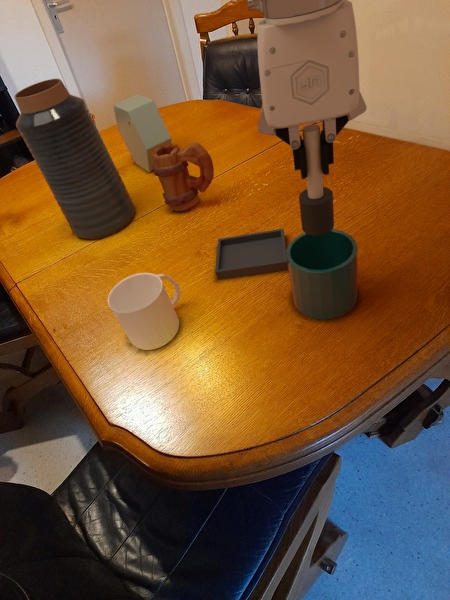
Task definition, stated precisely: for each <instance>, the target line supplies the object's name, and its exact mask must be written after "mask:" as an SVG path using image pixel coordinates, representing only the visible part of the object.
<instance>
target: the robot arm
mask: <svg viewBox="0 0 450 600" xmlns="http://www.w3.org/2000/svg"><path fill="white" fill-rule="evenodd" d="M246 3H247V4H246V5H247V9H248V11H249V12H250V11H254V10H255V11H257V12H258V11H260V13H261V14H262V13H263V14H264V16H263V18H262V19H260V20H259V22H258V24H257V63H258V72H259V73H258V74H259V82H260V83H259V86H260V92H261V102H262V103H261V107H260V112H259V117H258V119H257V120H258V121H257V132H258V133H259V134H263V135H268V136H275V137H277V138H278V139H279V140H281V141H283V142H284V143H286V144H287V145H288V146H290V148H291V150H292V157H293V168H294V170H295V171H300V177H301V180H305V179H306V180H307V178H306V177H308V176H307V164H306V151H305V146H304V143H303V136H302V135H301V133H300V126H303V125H307V124H308V125H309V124H313V123H318V122H321V124H322V125H321V127H322V130H320V143H321V162H322V175H324V176H327V175H330V165H334V164H335V159H334V158H335V157H334V142H335V141H336V139H337V136H338V135H339V133H341V131H342V130H343V129H344V128H345V126H346V125H348V123H349V121H353V120H354V119H356V118H357V117H359V116H360V115H363V114H364V113H365V112H366V111H367V108H368V107H367V104H366V101H365V100H364V97H363V96H362V93H361V91H360V64H359V49H358V36H357V27H356V26H357V25H356V19H355V13H354V6H353V2H352V1H350V0H246Z"/></svg>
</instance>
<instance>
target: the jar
mask: <svg viewBox="0 0 450 600" xmlns="http://www.w3.org/2000/svg"><path fill="white" fill-rule="evenodd" d="M358 249H359V248H358V244H357V241H356V240H355V239H354V237H352V235H350V234H349V233H347V232H345V231H343V230H339V229H336V228H335V229H334V228H333V229H332V230H331V231H330V232H328V233H326V234H323V235H318V236H313V235H309V234H306V233H305V232H302V233H301V234H299V235H297V236H296V237H295V238H293V239H292V240H291V242H290V243H288V246H287V247H286V255H287V263H288V275H289V283H290V289H291V296H292V301H293V305H294V308H296V310H297V311H298V312H299V313H301V314H302V315H303V316H306V317H308V318H310V319H314V320H322V321H324V320H325V321H326V320H333V319H337V318H340V317H342V316H344V315H346V314H347V313H349V312H350V311H351V310H352V309H353V308H354V306H355V305H356V303H357V299H358V269H359V268H358V266H359V265H358V263H359V262H358V261H359V258H358V257H359V256H358V255H359V252H358V251H359V250H358Z"/></svg>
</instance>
